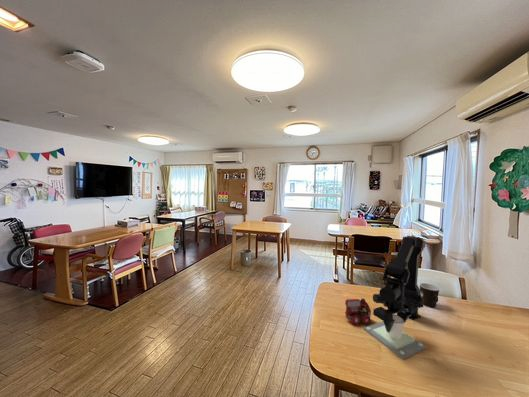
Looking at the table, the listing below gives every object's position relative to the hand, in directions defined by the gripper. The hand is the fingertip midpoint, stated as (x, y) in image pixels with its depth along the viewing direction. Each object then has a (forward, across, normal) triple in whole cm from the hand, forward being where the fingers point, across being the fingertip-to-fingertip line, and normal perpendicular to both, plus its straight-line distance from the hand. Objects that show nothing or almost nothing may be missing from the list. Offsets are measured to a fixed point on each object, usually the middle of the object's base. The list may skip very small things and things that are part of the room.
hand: (393, 329), depth 92 cm
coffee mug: (+4, -42, -10) cm, 43 cm away
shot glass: (+2, 0, 0) cm, 2 cm away
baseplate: (+4, 0, 0) cm, 4 cm away
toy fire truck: (+4, +4, -15) cm, 16 cm away
